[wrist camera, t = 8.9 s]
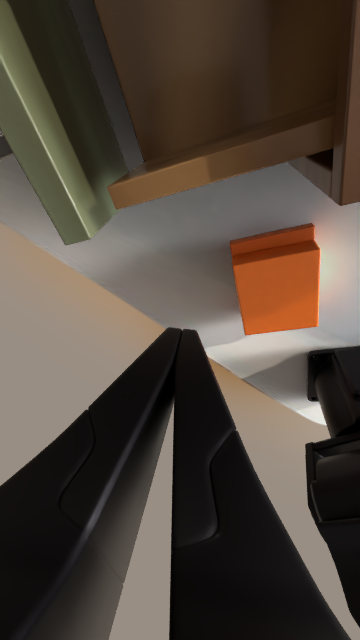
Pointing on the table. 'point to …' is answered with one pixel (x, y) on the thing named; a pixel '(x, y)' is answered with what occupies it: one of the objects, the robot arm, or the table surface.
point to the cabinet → (341, 120)
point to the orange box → (277, 279)
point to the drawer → (163, 97)
